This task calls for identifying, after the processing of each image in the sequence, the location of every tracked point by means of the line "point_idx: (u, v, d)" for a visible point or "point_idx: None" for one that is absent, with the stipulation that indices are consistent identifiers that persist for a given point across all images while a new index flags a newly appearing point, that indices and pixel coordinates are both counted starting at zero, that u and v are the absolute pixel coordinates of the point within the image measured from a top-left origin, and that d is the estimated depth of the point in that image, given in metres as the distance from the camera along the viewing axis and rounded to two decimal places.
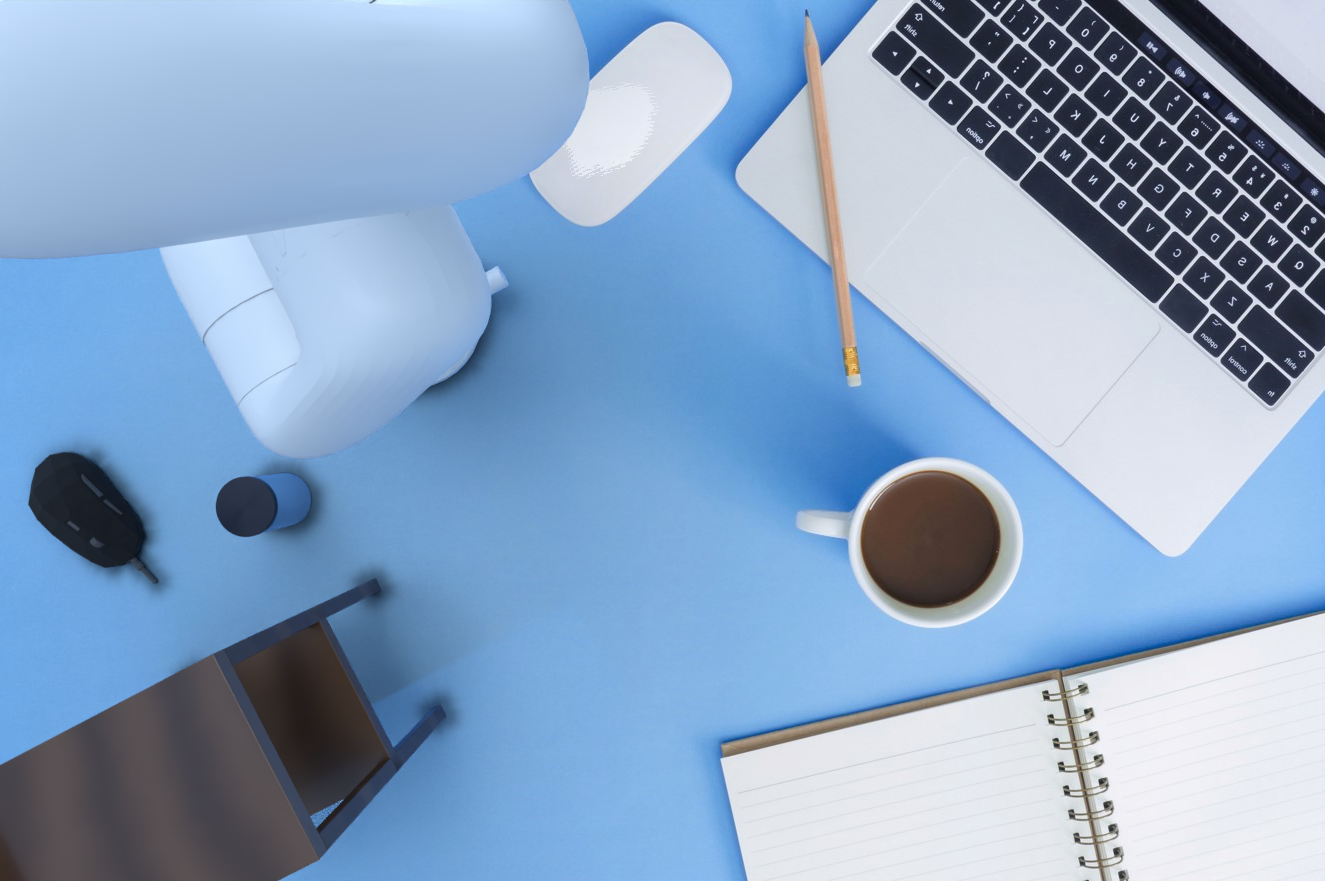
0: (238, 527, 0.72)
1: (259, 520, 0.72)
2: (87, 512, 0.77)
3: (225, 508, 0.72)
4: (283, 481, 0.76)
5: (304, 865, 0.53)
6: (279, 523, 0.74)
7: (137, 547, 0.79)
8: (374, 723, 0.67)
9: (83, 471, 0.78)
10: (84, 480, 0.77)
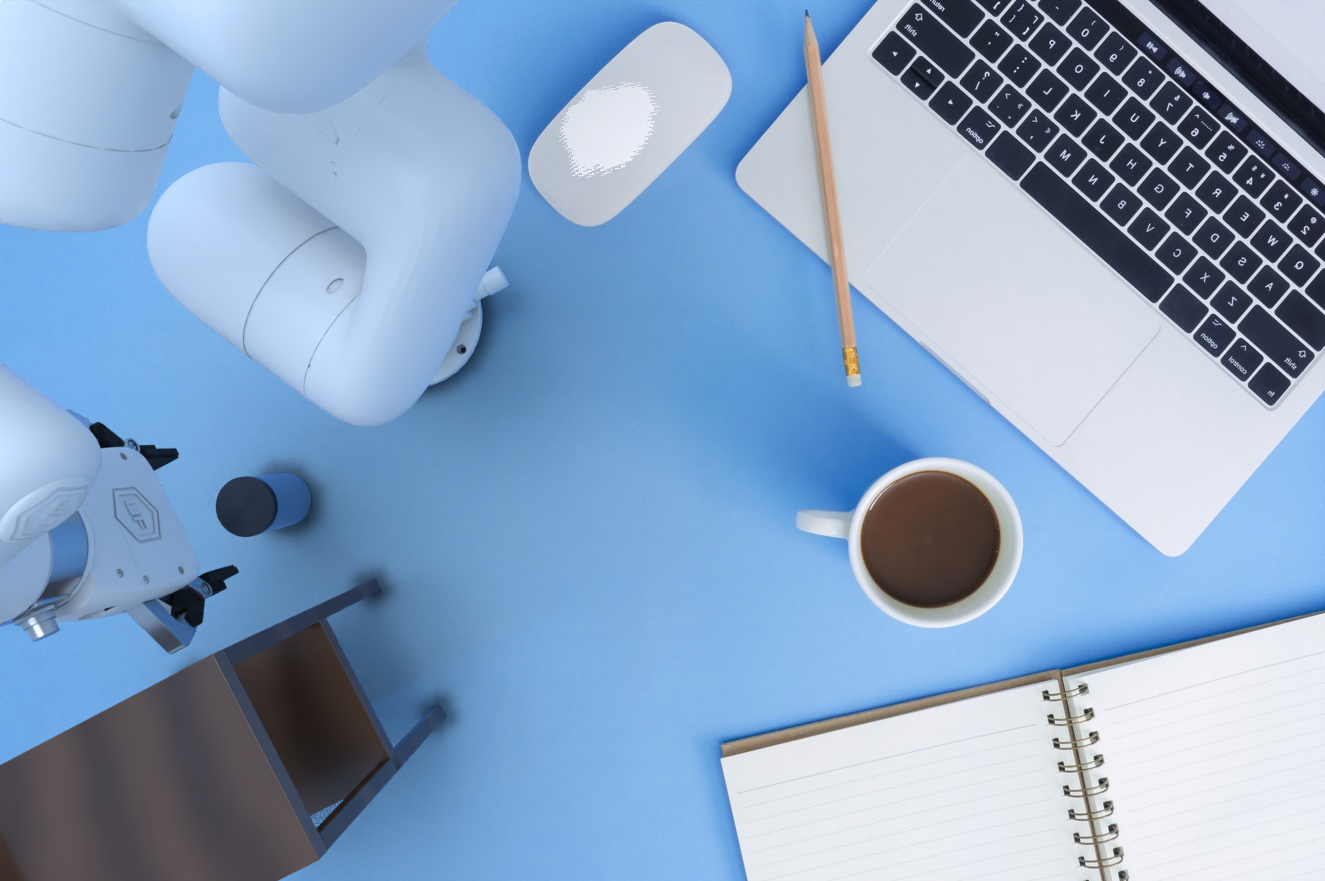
0: (238, 527, 0.72)
1: (259, 520, 0.72)
2: None
3: (225, 508, 0.72)
4: (283, 481, 0.76)
5: (304, 865, 0.53)
6: (279, 523, 0.74)
7: None
8: (374, 723, 0.67)
9: None
10: None
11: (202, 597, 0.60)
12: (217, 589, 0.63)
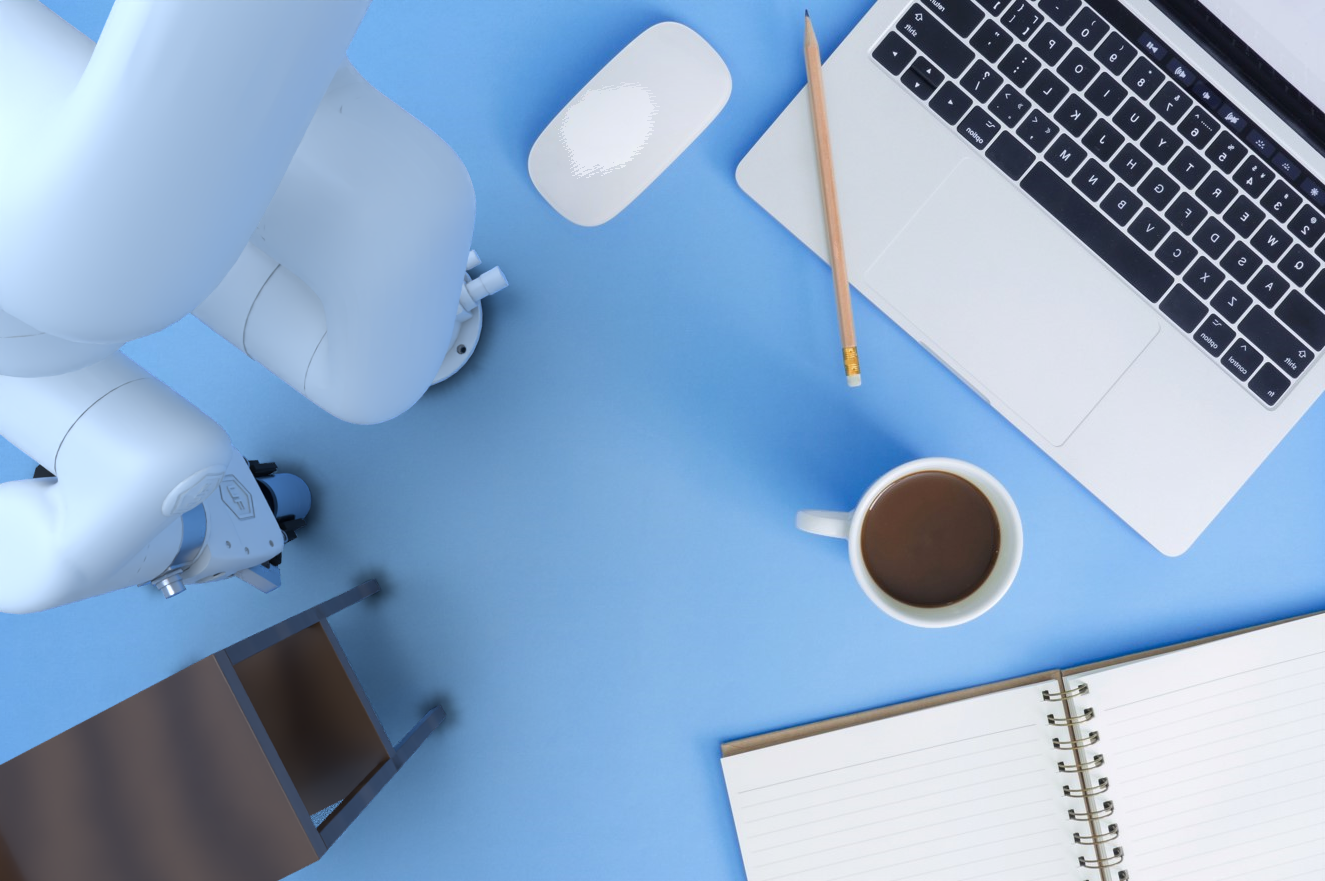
0: None
1: None
2: None
3: None
4: (283, 481, 0.76)
5: (304, 865, 0.53)
6: (279, 523, 0.74)
7: None
8: (374, 723, 0.67)
9: None
10: None
11: None
12: (290, 537, 0.75)
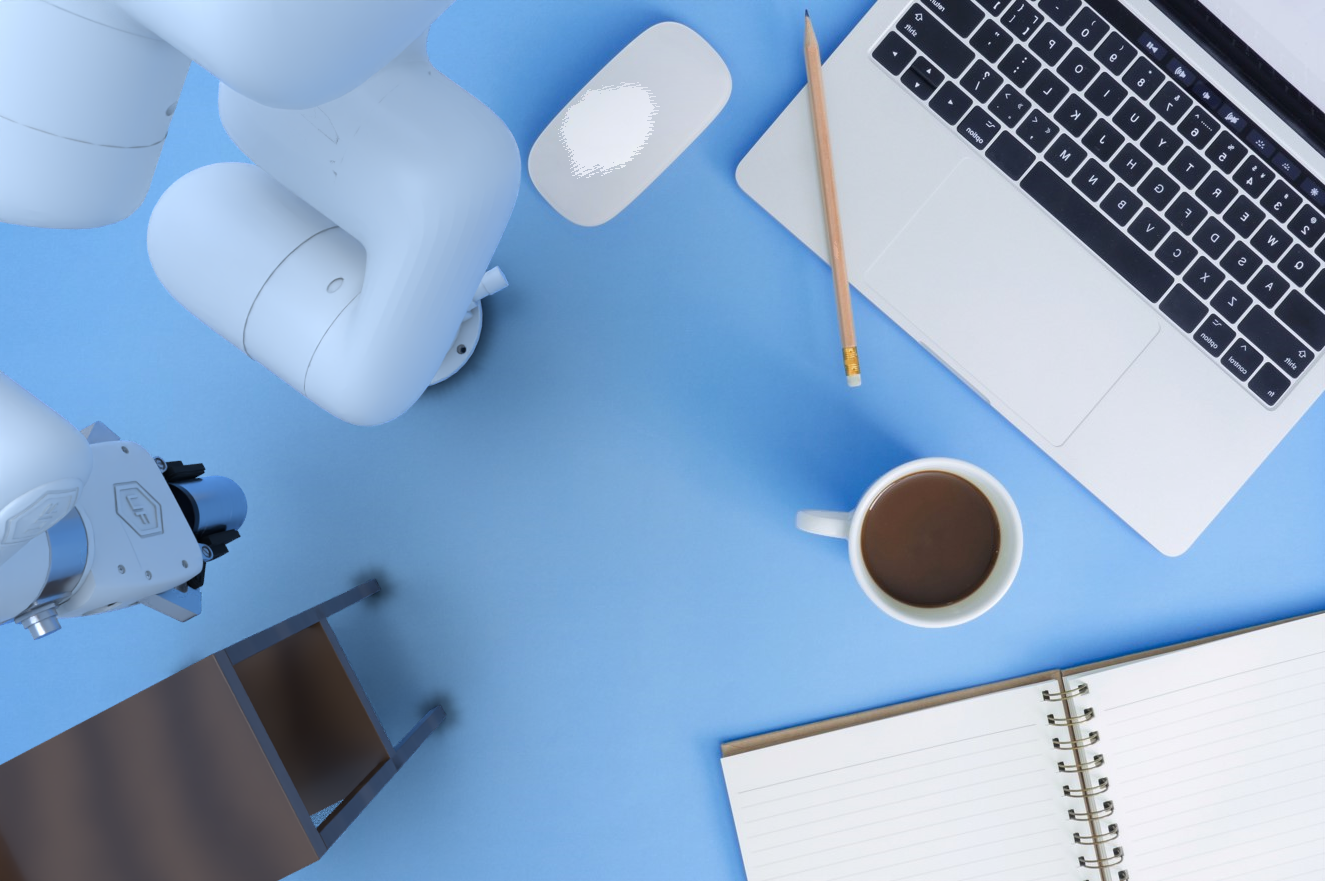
0: None
1: None
2: None
3: None
4: (210, 486, 0.64)
5: (304, 865, 0.53)
6: (204, 536, 0.63)
7: None
8: (374, 723, 0.67)
9: None
10: None
11: (203, 560, 0.61)
12: (218, 552, 0.63)
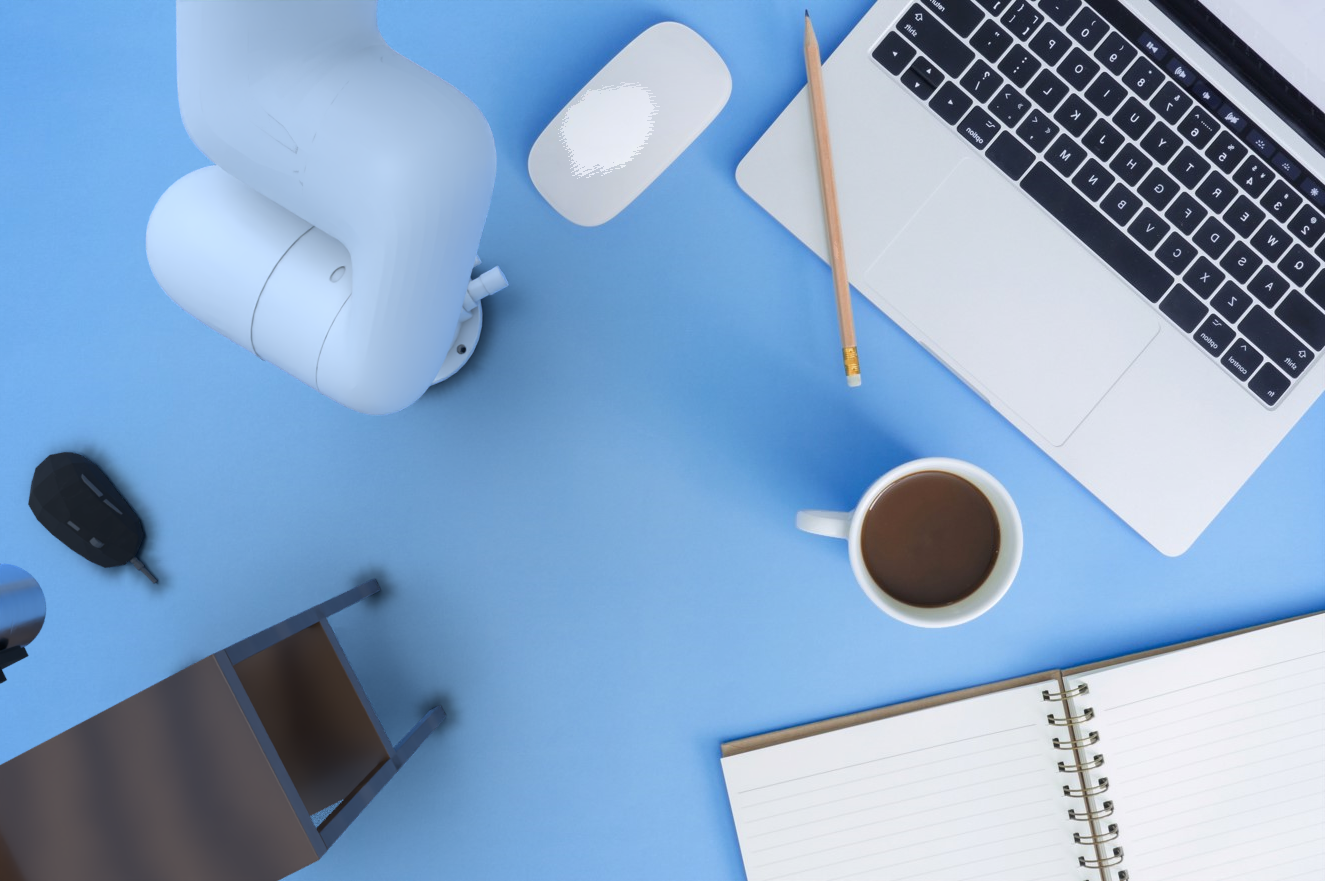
0: None
1: None
2: (87, 512, 0.77)
3: None
4: None
5: (304, 865, 0.53)
6: None
7: (137, 547, 0.79)
8: (374, 723, 0.67)
9: (83, 471, 0.78)
10: (84, 480, 0.77)
11: None
12: None
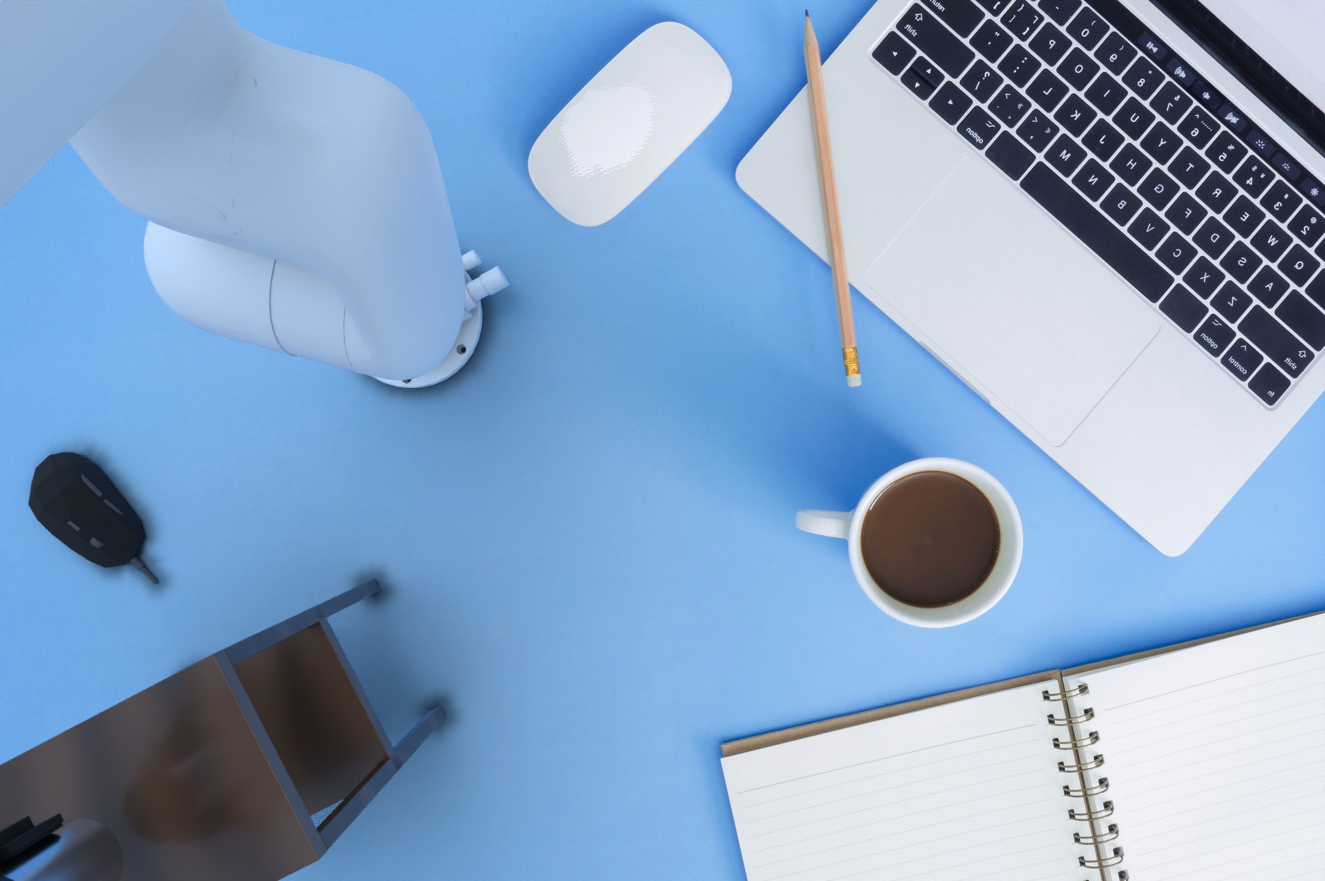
0: None
1: None
2: (87, 512, 0.77)
3: None
4: (65, 857, 0.47)
5: (304, 865, 0.53)
6: None
7: (137, 547, 0.79)
8: (374, 723, 0.67)
9: (83, 471, 0.78)
10: (84, 480, 0.77)
11: None
12: None
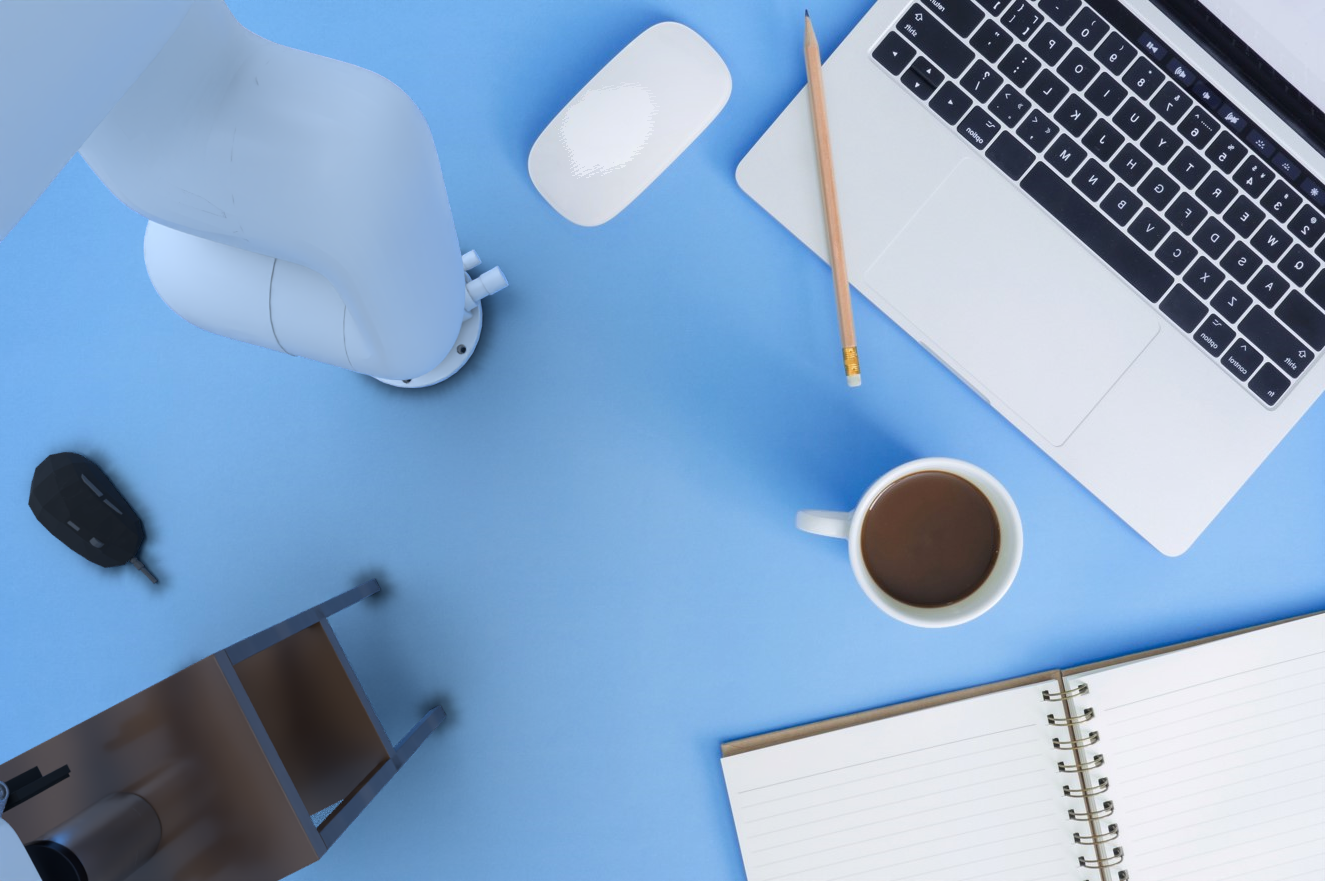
0: None
1: None
2: (87, 512, 0.77)
3: None
4: (109, 826, 0.50)
5: (304, 865, 0.53)
6: None
7: (137, 547, 0.79)
8: (374, 723, 0.67)
9: (83, 471, 0.78)
10: (84, 480, 0.77)
11: None
12: None
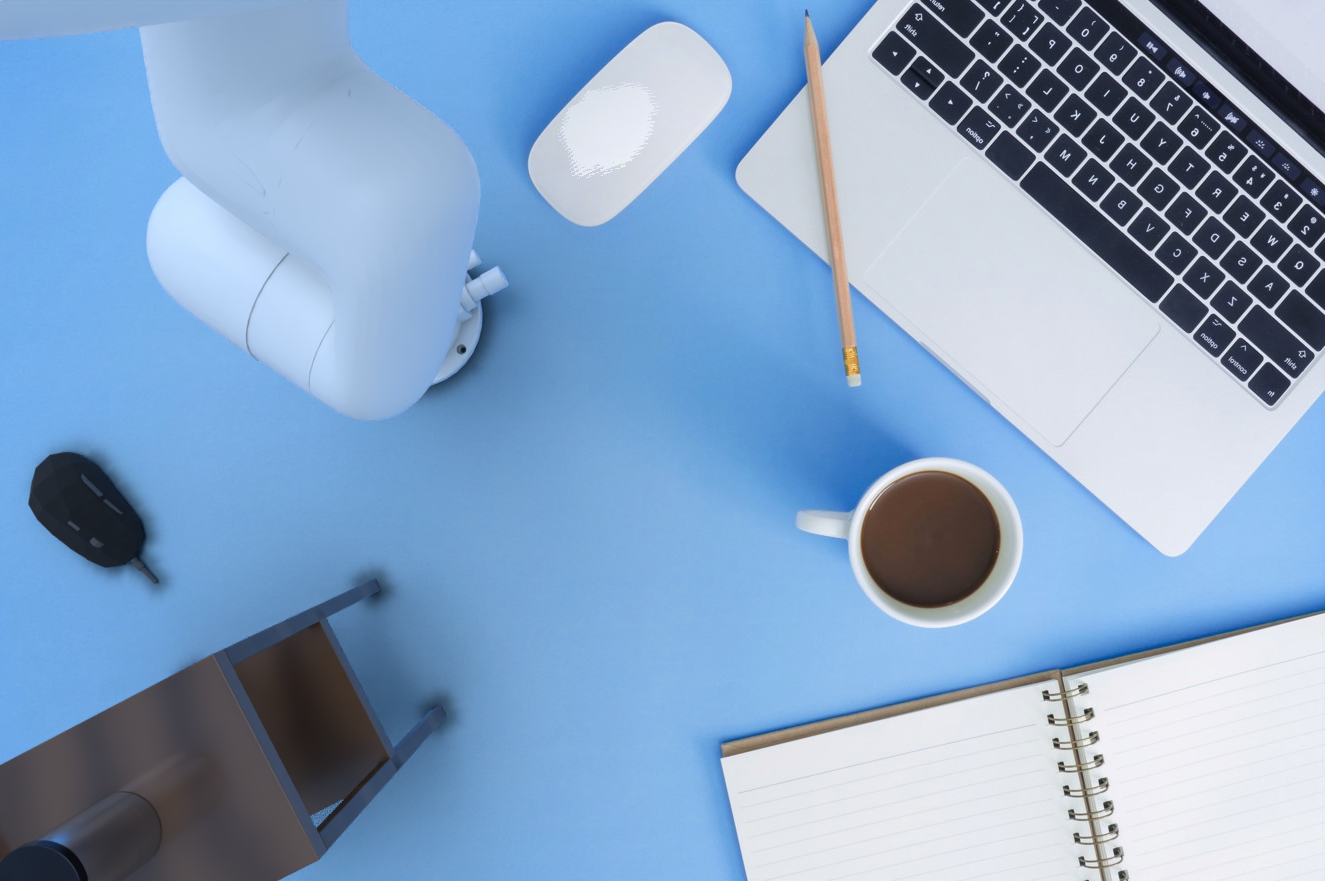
0: None
1: None
2: (87, 512, 0.77)
3: None
4: (109, 826, 0.50)
5: (304, 865, 0.53)
6: None
7: (137, 547, 0.79)
8: (374, 723, 0.67)
9: (83, 471, 0.78)
10: (84, 480, 0.77)
11: None
12: None
